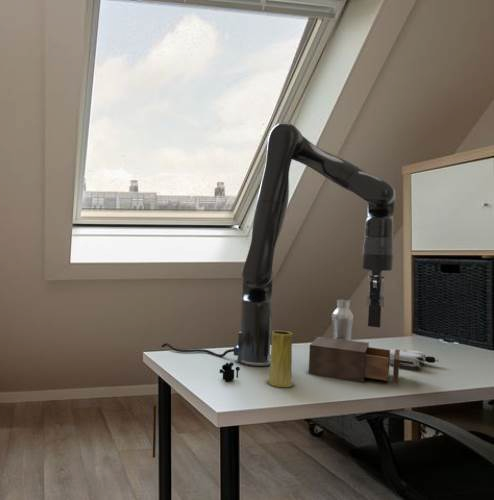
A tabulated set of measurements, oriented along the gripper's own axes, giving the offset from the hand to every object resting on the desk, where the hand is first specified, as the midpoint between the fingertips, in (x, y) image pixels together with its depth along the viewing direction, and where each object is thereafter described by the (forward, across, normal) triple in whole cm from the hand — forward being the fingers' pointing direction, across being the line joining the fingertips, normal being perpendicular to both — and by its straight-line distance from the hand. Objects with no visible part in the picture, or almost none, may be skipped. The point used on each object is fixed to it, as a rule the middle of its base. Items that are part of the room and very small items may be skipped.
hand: (374, 313), depth 135 cm
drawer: (+18, -4, +2) cm, 19 cm away
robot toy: (+19, -27, +9) cm, 34 cm away
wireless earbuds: (+20, +24, -34) cm, 46 cm away
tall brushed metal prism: (+4, 0, 0) cm, 4 cm away
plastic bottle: (+19, -19, -10) cm, 29 cm away
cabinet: (+19, -4, -9) cm, 22 cm away
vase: (+20, +19, -21) cm, 34 cm away
